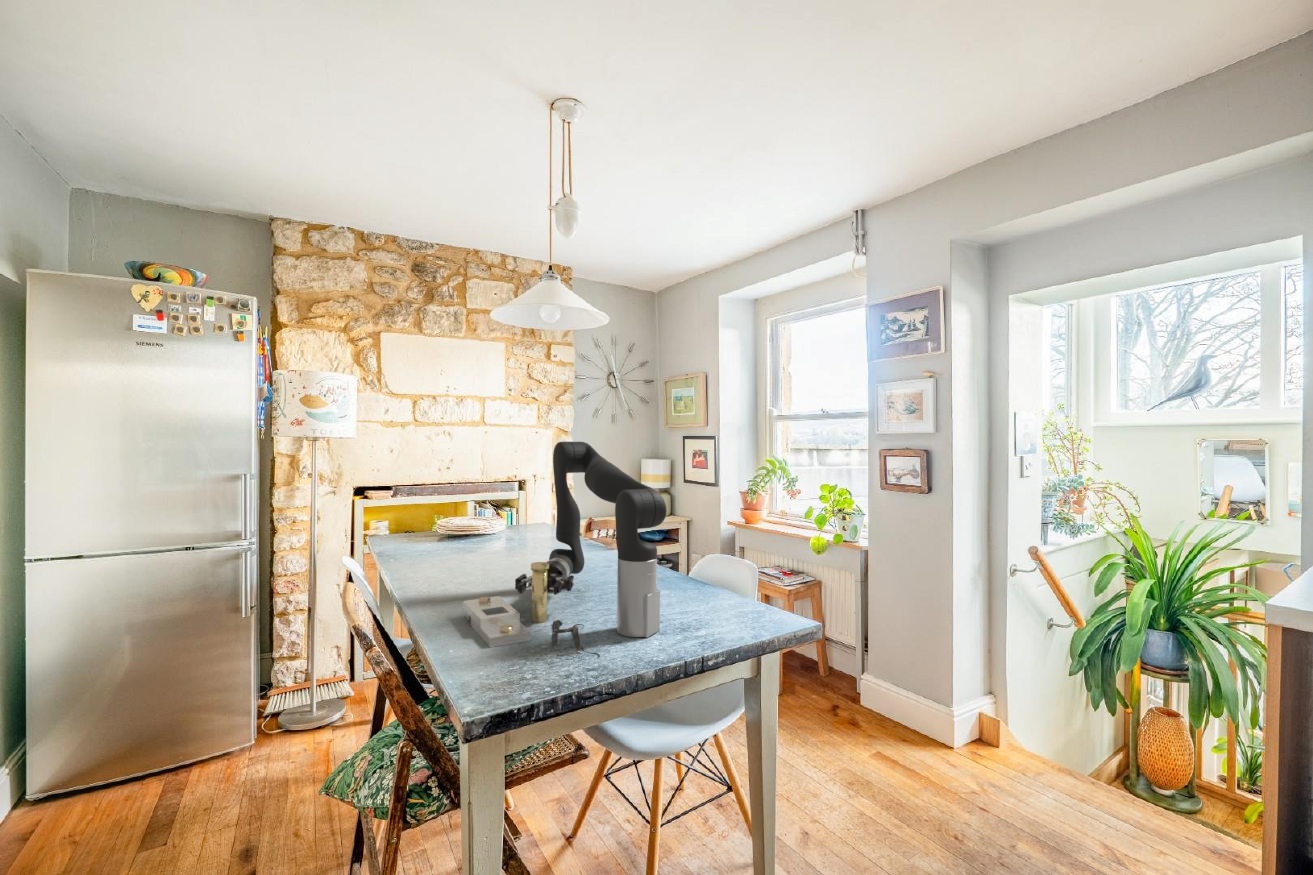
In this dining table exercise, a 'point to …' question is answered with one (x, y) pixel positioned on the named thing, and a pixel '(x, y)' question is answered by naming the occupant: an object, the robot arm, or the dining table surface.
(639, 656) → the dining table surface
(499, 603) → the gray block
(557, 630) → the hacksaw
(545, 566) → the pin
